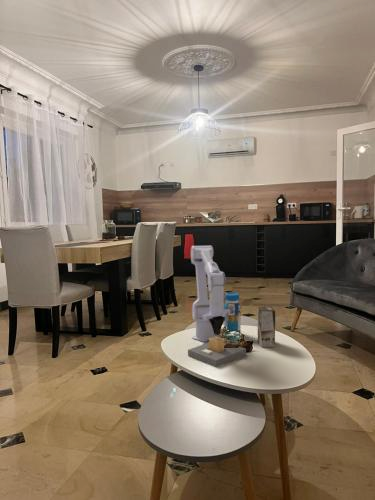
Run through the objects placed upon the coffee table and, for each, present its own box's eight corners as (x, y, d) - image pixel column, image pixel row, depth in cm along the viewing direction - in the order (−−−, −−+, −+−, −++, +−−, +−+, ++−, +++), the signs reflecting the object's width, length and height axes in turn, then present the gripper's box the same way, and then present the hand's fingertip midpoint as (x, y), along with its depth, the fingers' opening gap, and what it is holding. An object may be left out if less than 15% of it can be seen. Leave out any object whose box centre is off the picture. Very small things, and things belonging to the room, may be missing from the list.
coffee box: (275, 347, 157) (275, 311, 156) (260, 347, 157) (260, 311, 156) (271, 340, 166) (271, 306, 165) (257, 340, 167) (257, 306, 165)
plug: (215, 352, 152) (215, 335, 152) (224, 355, 149) (224, 338, 148) (209, 354, 150) (208, 337, 149) (217, 358, 146) (217, 340, 145)
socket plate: (217, 345, 161) (217, 337, 161) (245, 354, 149) (245, 346, 149) (188, 355, 149) (187, 347, 149) (216, 366, 137) (216, 358, 137)
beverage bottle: (220, 333, 178) (219, 293, 176) (232, 330, 183) (232, 291, 181) (232, 337, 171) (231, 296, 169) (244, 334, 176) (244, 293, 174)
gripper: (211, 306, 139) (211, 340, 140) (235, 300, 149) (235, 332, 150) (198, 303, 144) (199, 336, 146) (223, 297, 154) (223, 328, 155)
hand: (216, 334), depth 148 cm, fingers closed
